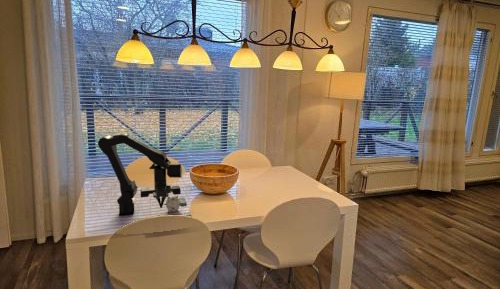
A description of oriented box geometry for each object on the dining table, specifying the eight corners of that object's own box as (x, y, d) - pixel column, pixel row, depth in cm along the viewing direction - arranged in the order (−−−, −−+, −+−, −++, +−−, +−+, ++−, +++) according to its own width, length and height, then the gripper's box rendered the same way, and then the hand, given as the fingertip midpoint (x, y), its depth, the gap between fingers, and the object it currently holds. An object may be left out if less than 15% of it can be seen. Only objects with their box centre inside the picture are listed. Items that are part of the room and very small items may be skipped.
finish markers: (185, 218, 159) (184, 215, 159) (178, 200, 182) (178, 197, 182) (191, 218, 160) (191, 215, 160) (184, 199, 183) (184, 197, 183)
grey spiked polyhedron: (169, 218, 168) (157, 202, 168) (182, 208, 173) (171, 192, 173) (174, 215, 160) (162, 198, 160) (188, 205, 165) (176, 189, 165)
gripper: (140, 184, 151) (141, 216, 155) (181, 180, 157) (182, 212, 160) (139, 176, 162) (141, 207, 165) (179, 174, 168) (179, 203, 171)
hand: (161, 207), depth 165 cm, fingers closed
